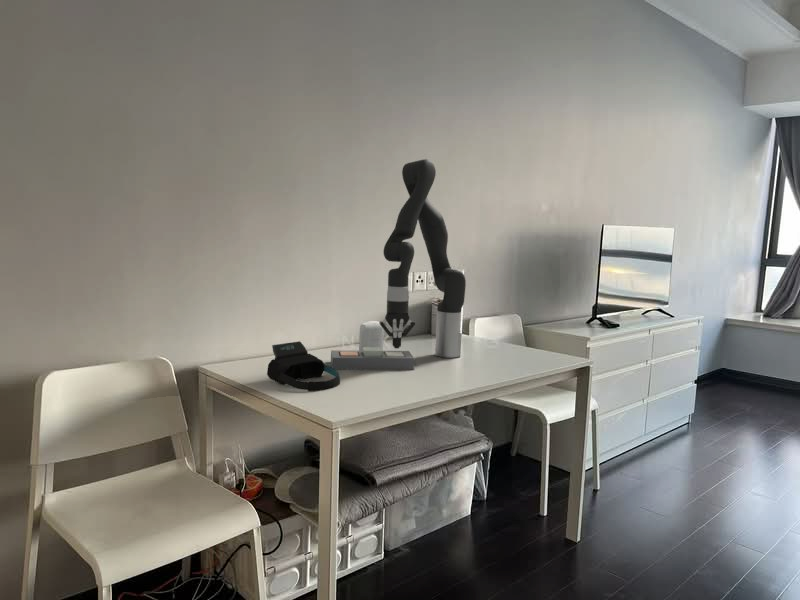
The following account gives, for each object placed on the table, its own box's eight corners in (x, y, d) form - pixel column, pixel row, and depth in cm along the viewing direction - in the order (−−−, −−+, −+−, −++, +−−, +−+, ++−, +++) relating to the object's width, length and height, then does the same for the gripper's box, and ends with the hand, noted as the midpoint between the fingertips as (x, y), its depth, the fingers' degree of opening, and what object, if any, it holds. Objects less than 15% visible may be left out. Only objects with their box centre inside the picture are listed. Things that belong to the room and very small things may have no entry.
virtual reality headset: (304, 368, 209) (308, 339, 207) (349, 391, 195) (354, 361, 193) (258, 376, 195) (262, 346, 192) (304, 402, 181) (308, 370, 179)
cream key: (401, 359, 225) (401, 352, 224) (404, 363, 219) (404, 355, 218) (384, 359, 224) (385, 351, 223) (387, 363, 218) (387, 355, 218)
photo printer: (377, 350, 246) (378, 319, 245) (384, 352, 243) (385, 320, 242) (357, 353, 239) (358, 321, 238) (364, 355, 236) (365, 323, 235)
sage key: (379, 355, 223) (379, 347, 223) (381, 358, 217) (381, 351, 217) (362, 355, 222) (362, 347, 222) (364, 358, 216) (364, 350, 216)
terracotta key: (356, 359, 222) (357, 351, 222) (358, 363, 216) (358, 355, 216) (339, 359, 221) (340, 351, 221) (340, 363, 215) (341, 355, 215)
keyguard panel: (408, 361, 228) (408, 350, 228) (413, 369, 217) (414, 358, 216) (330, 361, 224) (331, 350, 223) (332, 369, 212) (332, 357, 212)
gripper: (414, 297, 223) (413, 345, 225) (377, 297, 221) (376, 346, 223) (418, 300, 216) (417, 350, 218) (380, 300, 213) (379, 350, 216)
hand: (396, 347), depth 220 cm, fingers closed
